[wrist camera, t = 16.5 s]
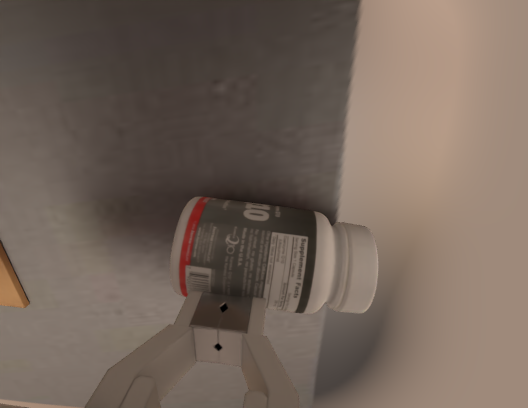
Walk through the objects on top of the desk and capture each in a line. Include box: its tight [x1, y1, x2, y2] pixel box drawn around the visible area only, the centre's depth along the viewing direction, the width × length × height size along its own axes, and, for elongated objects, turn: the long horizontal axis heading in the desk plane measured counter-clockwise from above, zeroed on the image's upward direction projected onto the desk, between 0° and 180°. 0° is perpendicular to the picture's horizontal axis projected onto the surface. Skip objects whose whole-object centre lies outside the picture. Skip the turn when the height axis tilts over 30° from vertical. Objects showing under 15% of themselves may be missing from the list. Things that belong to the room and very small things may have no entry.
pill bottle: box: [170, 197, 378, 314], centre depth 13 cm, size 5×5×8 cm
